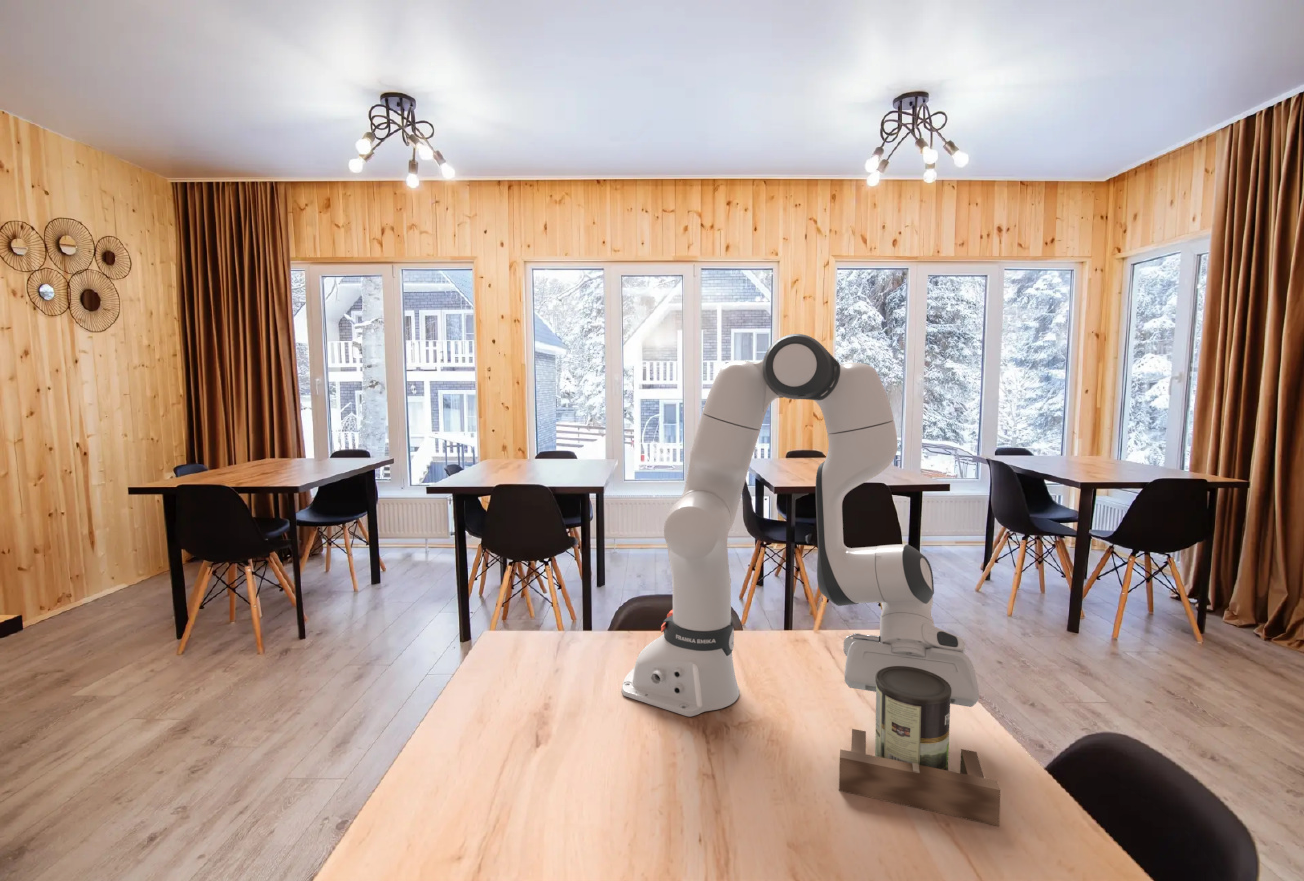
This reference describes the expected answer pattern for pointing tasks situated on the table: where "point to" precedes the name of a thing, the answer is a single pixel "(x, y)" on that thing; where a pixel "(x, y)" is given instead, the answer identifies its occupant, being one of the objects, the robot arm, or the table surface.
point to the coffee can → (912, 716)
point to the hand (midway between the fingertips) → (909, 724)
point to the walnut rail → (921, 783)
